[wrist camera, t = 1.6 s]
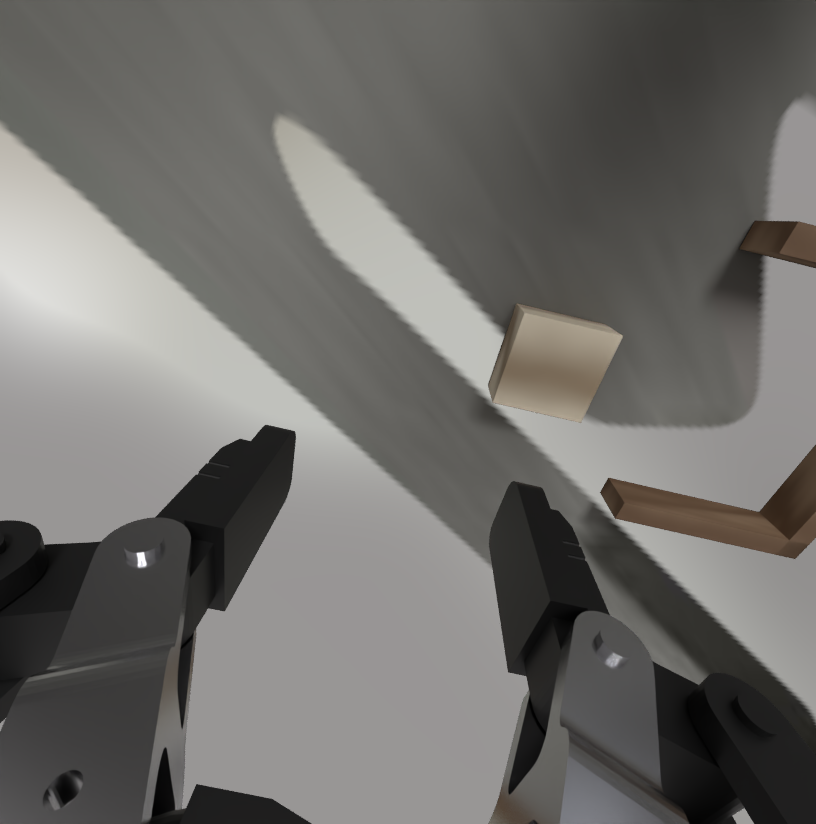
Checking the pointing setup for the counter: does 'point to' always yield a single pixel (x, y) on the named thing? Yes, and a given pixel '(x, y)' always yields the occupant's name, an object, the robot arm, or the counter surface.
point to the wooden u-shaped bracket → (764, 531)
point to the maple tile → (551, 363)
